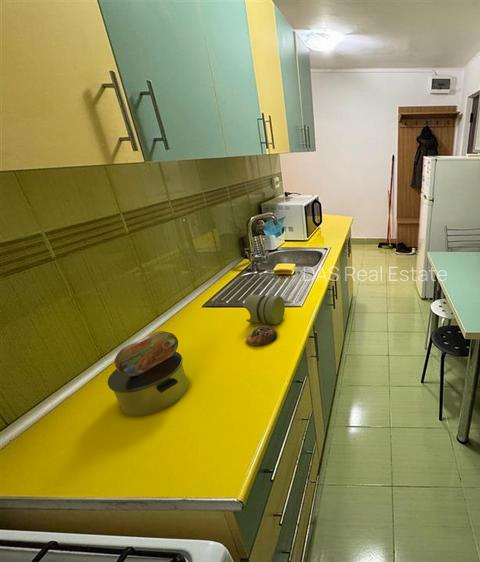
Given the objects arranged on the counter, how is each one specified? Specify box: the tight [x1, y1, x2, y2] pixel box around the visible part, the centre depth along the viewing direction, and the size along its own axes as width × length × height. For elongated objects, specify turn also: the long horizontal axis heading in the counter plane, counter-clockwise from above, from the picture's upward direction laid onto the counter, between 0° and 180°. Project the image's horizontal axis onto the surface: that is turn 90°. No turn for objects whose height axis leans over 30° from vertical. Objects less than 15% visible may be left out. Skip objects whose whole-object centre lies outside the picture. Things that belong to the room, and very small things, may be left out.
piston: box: [242, 294, 286, 325], centre depth 123 cm, size 11×12×11 cm
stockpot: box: [106, 351, 189, 417], centre depth 86 cm, size 19×17×9 cm
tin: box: [114, 330, 179, 376], centre depth 84 cm, size 15×3×8 cm, turn 152°
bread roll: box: [245, 325, 278, 347], centre depth 113 cm, size 11×11×5 cm
